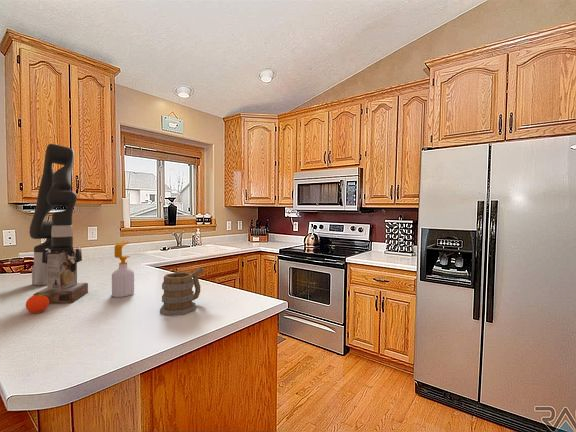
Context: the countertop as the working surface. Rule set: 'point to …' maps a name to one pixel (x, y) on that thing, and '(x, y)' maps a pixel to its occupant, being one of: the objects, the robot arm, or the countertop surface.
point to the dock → (65, 294)
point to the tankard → (180, 292)
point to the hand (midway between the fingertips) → (62, 272)
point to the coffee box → (60, 271)
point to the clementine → (37, 303)
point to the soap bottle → (122, 275)
